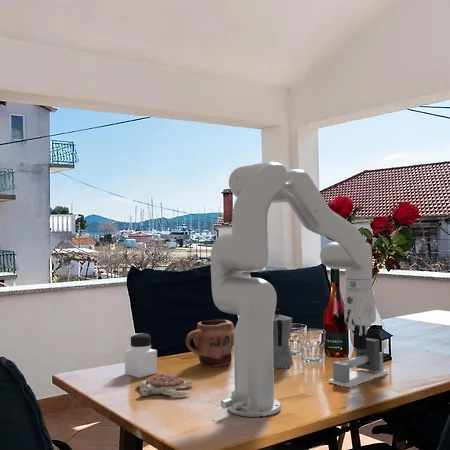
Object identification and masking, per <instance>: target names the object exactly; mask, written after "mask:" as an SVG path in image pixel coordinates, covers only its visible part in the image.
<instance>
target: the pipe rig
mask: <svg viewBox="0 0 450 450" xmlns="http://www.w3.org/2000/svg"><path fill="white" fill-rule="evenodd" d="M368 362H370V355H369V354H365V355H362V356H358V357H356V356H355V357H353V358H349V359H347V360H343V361H334V362H332V378H330V379H328V383H329V382H331V383H335V384H339V385H343V386H347V387H352V386H355V385H357V386H359V385H358V384H360V383H363V382H365V381H368V380H370V381H373V380H375V379H374V378H376V379H377V377H378V378H381V377H382V375H383V376H386V375H389V371H388V369H384V353H383V352H381V351H380V369H379V370H377V371H370V370H365V369H360V368H356V369H353V368H355V367H356V366H359V365H362V364H365V363H368ZM351 369H353V370H352V371H350V370H351ZM385 374H386V375H385ZM380 376H381V377H380ZM372 379H373V380H372ZM368 382H369V381H368ZM365 383H366V382H365ZM363 384H364V383H363ZM360 385H361V384H360ZM343 386H342V387H343ZM347 387H346V388H347ZM355 387H356V386H355ZM352 388H353V387H352Z"/></svg>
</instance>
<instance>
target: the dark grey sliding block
mask: <svg viewBox="0 0 450 450" xmlns="http://www.w3.org/2000/svg"><path fill="white" fill-rule="evenodd" d="M380 350H381V349H380V339H376V338H370V337H369V338H368V337H366V349H363V350H362V349H356V348H355V355H356V356H355V357H358V356H362V355H365V354H369V355H370V362H368V363H365V364H362V365H359V366H356V369H365V370H370V371H377V370H379V369H380V352H381V351H380Z"/></svg>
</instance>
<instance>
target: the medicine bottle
mask: <svg viewBox="0 0 450 450" xmlns="http://www.w3.org/2000/svg"><path fill="white" fill-rule="evenodd" d="M151 337H152V336H151V335H150V334H149V333H144V332H142V333H140V332H139V333H134V334H132V335H131V336H130V349H127V350H125V351H124V374H125V375H128V376H131V377H135V378H138V379H140V378H144V377H148V376H152V375H155V374H156V375H157V373H158V350H157V349H153V348H152V343H151V341H152V339H151Z"/></svg>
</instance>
